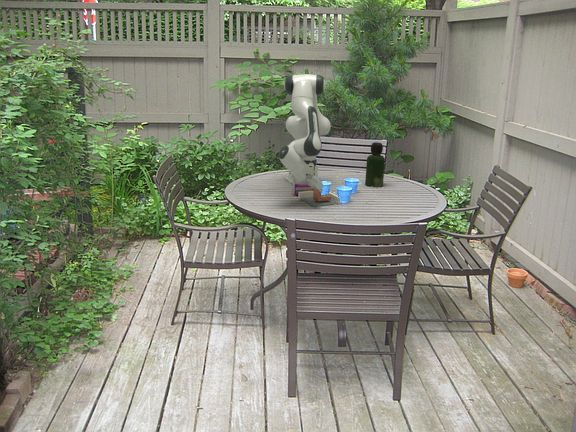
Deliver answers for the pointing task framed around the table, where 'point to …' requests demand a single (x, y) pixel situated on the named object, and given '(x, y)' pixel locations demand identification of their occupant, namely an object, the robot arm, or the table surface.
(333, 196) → the grey tray
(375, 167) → the dark green bottle
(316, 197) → the angle bracket
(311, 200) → the slate mat
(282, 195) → the table surface
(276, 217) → the table surface
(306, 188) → the candy bar box
